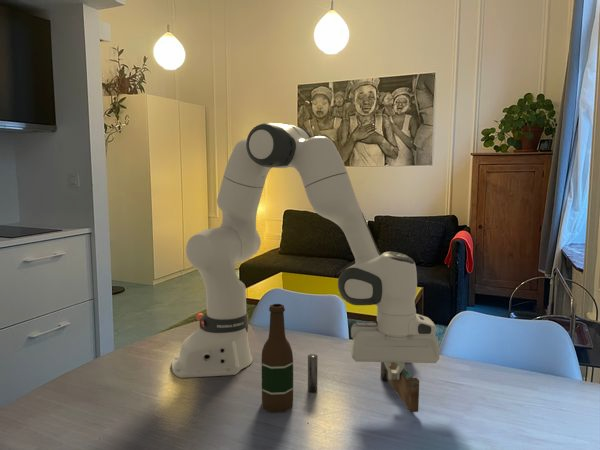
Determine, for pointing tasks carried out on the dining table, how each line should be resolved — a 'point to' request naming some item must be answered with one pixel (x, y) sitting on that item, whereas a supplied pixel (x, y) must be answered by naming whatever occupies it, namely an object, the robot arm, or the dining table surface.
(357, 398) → the dining table surface
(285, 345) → the beer bottle
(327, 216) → the robot arm
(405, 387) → the brown wooden panel
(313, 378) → the posts
